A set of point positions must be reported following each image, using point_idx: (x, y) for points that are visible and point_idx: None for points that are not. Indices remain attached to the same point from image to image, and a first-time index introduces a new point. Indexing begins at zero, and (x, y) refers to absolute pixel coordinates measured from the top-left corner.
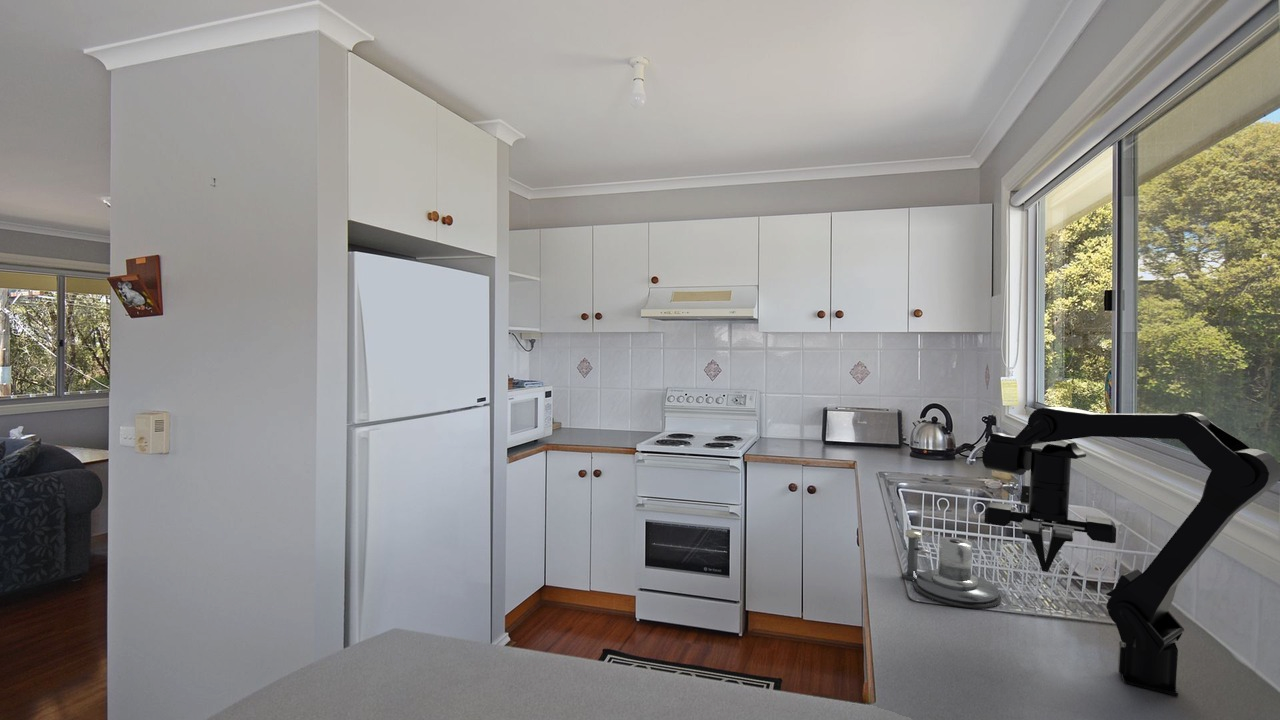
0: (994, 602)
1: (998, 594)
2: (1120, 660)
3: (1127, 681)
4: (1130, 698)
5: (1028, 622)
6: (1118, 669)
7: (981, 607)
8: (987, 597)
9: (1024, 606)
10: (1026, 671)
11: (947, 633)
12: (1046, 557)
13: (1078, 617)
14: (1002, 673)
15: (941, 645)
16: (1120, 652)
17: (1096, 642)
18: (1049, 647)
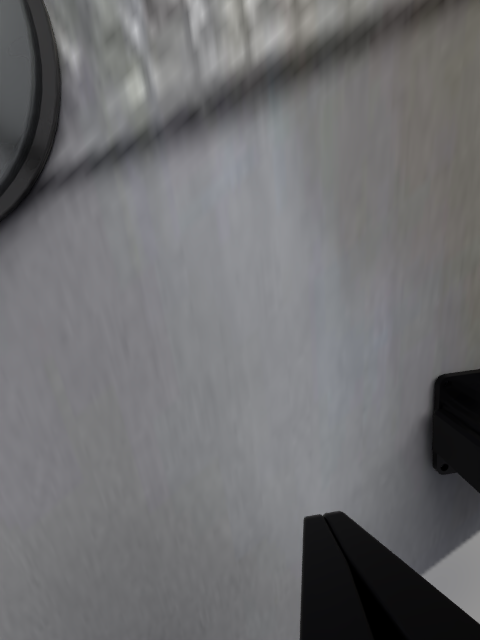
0: (43, 120)
1: (30, 29)
2: (455, 470)
3: (442, 473)
4: (435, 525)
5: (192, 212)
6: (433, 438)
7: (18, 202)
8: (10, 153)
9: (147, 23)
10: (241, 557)
11: (14, 489)
12: (377, 629)
13: (340, 8)
14: (198, 601)
15: (33, 569)
16: (471, 485)
17: (388, 239)
18: (273, 379)
